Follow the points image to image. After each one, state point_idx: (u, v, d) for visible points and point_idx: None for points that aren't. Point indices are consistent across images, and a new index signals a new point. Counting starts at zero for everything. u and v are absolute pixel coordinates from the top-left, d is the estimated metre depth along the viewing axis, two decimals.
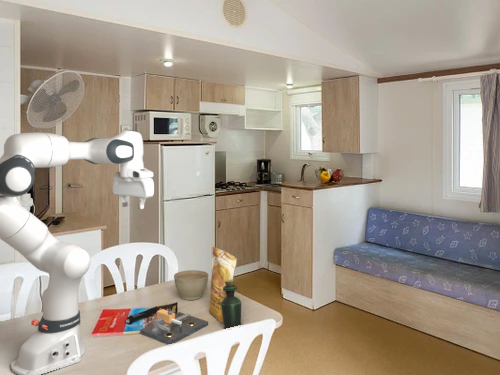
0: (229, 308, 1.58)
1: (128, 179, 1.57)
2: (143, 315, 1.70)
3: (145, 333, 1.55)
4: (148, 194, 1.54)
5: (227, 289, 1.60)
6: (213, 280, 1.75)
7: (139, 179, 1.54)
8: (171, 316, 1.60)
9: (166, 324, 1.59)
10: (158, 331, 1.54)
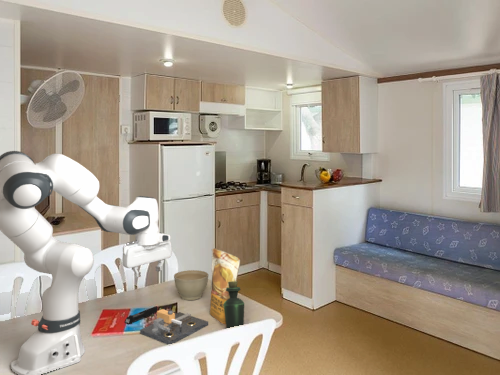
0: (233, 308, 1.56)
1: (154, 245, 1.55)
2: (143, 315, 1.70)
3: (145, 333, 1.55)
4: None
5: (231, 289, 1.59)
6: (214, 282, 1.73)
7: (166, 241, 1.59)
8: (171, 316, 1.60)
9: (166, 324, 1.59)
10: (158, 331, 1.54)
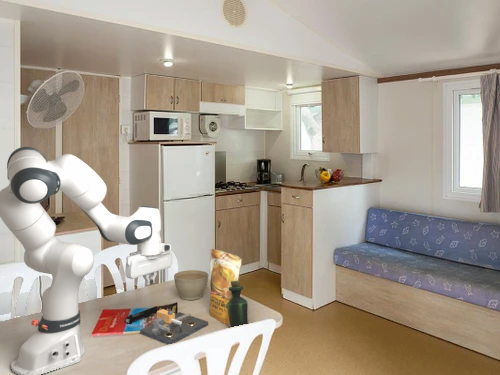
0: (237, 307, 1.57)
1: (157, 255, 1.54)
2: (143, 315, 1.70)
3: (145, 333, 1.55)
4: None
5: (234, 289, 1.60)
6: (214, 283, 1.73)
7: (168, 251, 1.59)
8: (171, 316, 1.60)
9: (166, 324, 1.59)
10: (158, 331, 1.54)
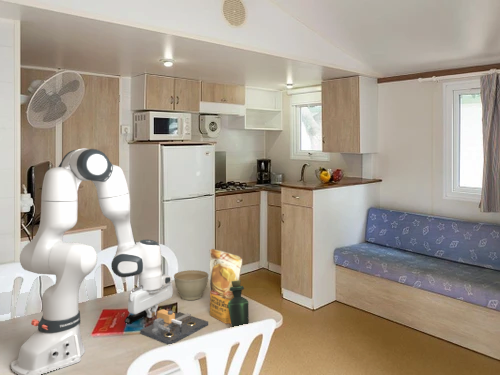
0: (239, 307, 1.57)
1: (158, 288, 1.57)
2: (143, 315, 1.70)
3: (145, 333, 1.55)
4: None
5: (235, 288, 1.60)
6: (214, 283, 1.73)
7: (168, 283, 1.62)
8: (171, 316, 1.60)
9: (166, 324, 1.59)
10: (158, 331, 1.54)
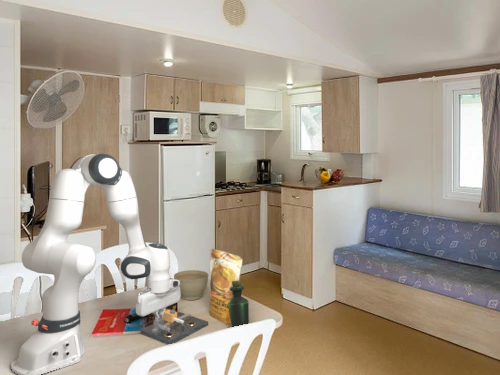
0: (239, 307, 1.57)
1: (166, 292, 1.59)
2: None
3: (145, 333, 1.55)
4: None
5: (235, 288, 1.60)
6: (214, 283, 1.73)
7: (176, 287, 1.64)
8: (173, 315, 1.61)
9: (166, 324, 1.59)
10: (158, 331, 1.54)
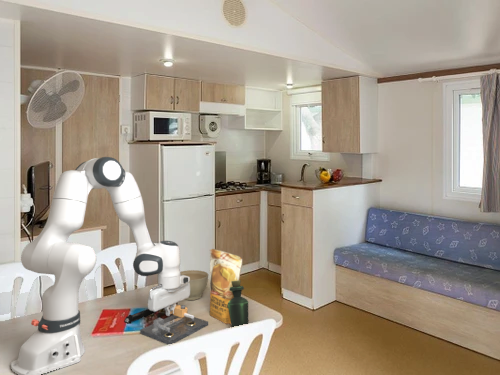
0: (238, 307, 1.57)
1: (176, 288, 1.64)
2: (142, 314, 1.71)
3: (145, 333, 1.55)
4: None
5: (235, 288, 1.60)
6: (214, 283, 1.73)
7: (186, 283, 1.69)
8: (184, 310, 1.65)
9: (166, 324, 1.59)
10: (158, 331, 1.54)
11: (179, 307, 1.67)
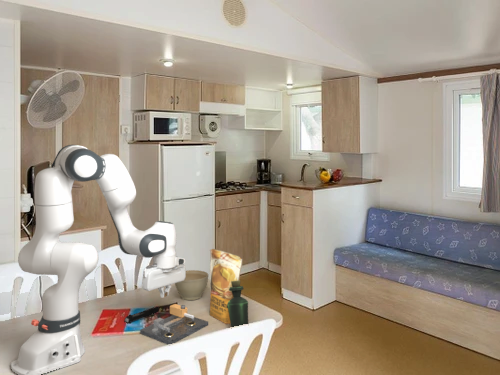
0: (238, 307, 1.57)
1: (171, 268, 1.62)
2: (143, 315, 1.71)
3: (145, 333, 1.55)
4: None
5: (235, 289, 1.60)
6: (214, 283, 1.73)
7: (182, 265, 1.66)
8: (184, 310, 1.65)
9: (166, 324, 1.59)
10: (158, 331, 1.54)
11: (179, 307, 1.67)
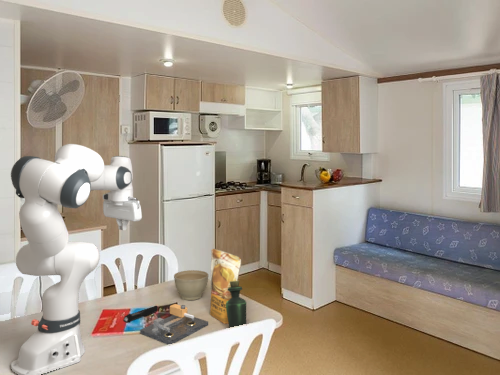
0: (236, 308, 1.57)
1: None
2: (142, 314, 1.71)
3: (145, 333, 1.55)
4: None
5: (233, 289, 1.59)
6: (214, 283, 1.73)
7: None
8: (184, 310, 1.65)
9: (166, 324, 1.59)
10: (158, 331, 1.54)
11: (179, 307, 1.67)
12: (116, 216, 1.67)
